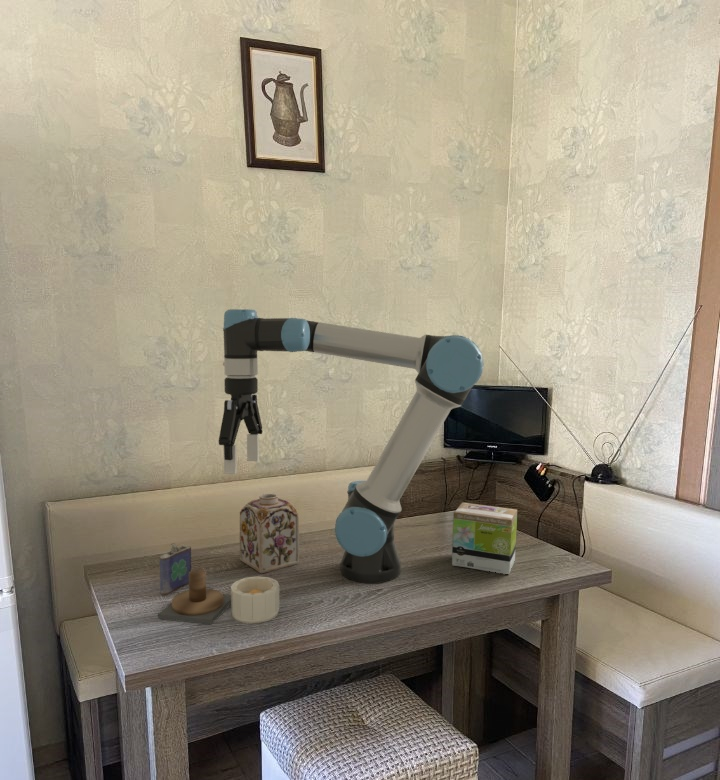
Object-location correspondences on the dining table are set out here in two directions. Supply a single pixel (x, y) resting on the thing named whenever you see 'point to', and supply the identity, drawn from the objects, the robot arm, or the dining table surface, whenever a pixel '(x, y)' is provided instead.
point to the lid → (197, 596)
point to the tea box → (484, 537)
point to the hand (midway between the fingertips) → (242, 467)
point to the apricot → (255, 591)
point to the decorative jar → (269, 534)
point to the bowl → (255, 600)
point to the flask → (175, 569)
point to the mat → (205, 618)
